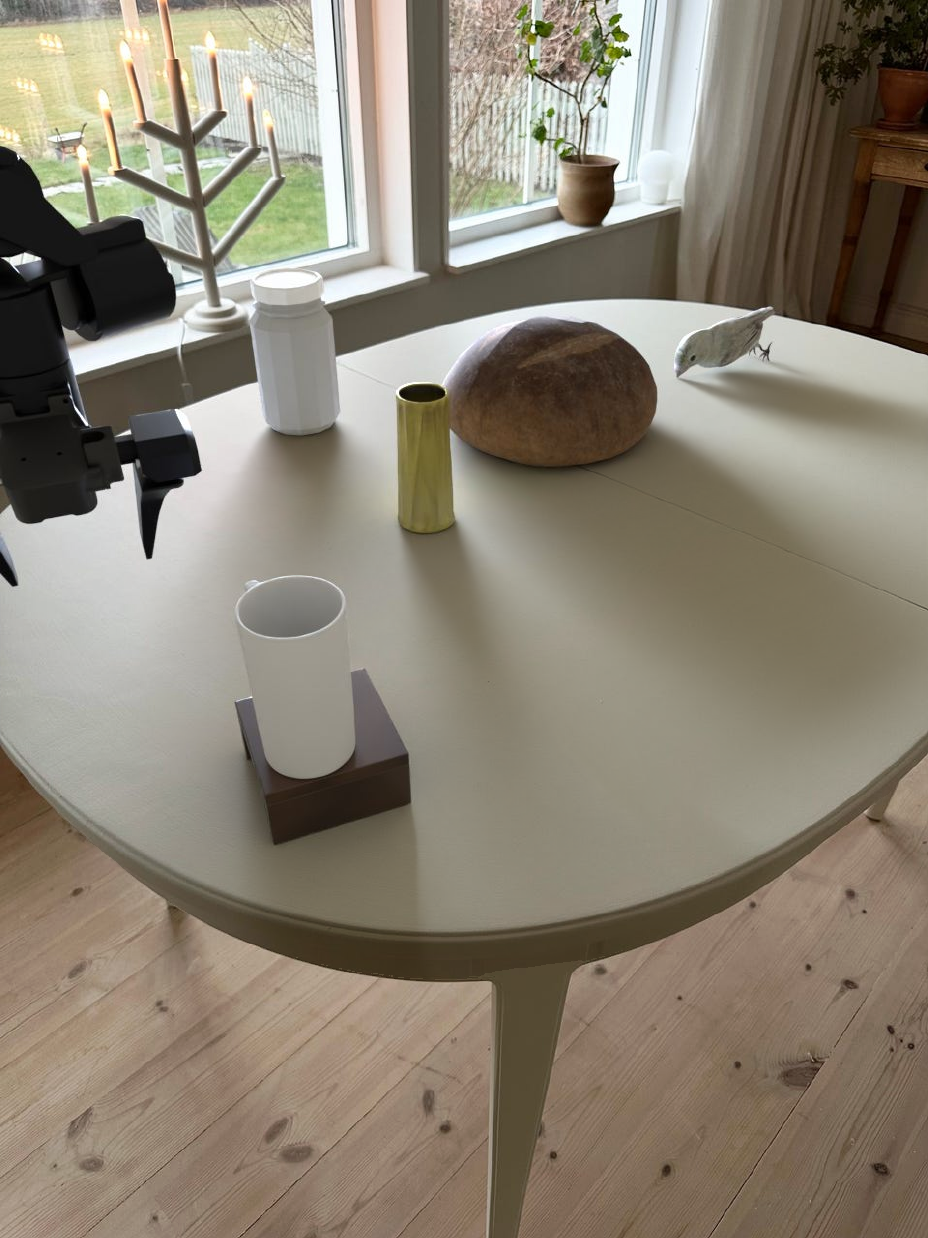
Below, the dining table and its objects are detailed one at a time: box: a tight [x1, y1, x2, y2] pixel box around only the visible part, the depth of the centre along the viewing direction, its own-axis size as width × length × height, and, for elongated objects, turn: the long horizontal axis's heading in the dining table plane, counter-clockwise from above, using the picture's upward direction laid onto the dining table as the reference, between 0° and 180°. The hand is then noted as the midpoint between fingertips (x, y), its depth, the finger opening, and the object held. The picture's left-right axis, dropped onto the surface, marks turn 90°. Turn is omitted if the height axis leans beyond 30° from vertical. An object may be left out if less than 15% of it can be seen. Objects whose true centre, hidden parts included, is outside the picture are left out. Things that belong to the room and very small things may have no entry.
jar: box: [249, 267, 341, 437], centre depth 112 cm, size 10×10×18 cm
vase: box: [395, 381, 456, 534], centre depth 94 cm, size 6×6×14 cm
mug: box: [234, 575, 355, 779], centre depth 61 cm, size 10×7×12 cm, turn 38°
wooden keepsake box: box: [234, 667, 412, 846], centre depth 67 cm, size 10×10×5 cm
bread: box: [441, 316, 658, 468], centre depth 113 cm, size 26×27×13 cm
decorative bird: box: [673, 306, 776, 378], centre depth 130 cm, size 5×16×7 cm, turn 118°
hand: (83, 569), depth 67 cm, fingers open, 9 cm apart
